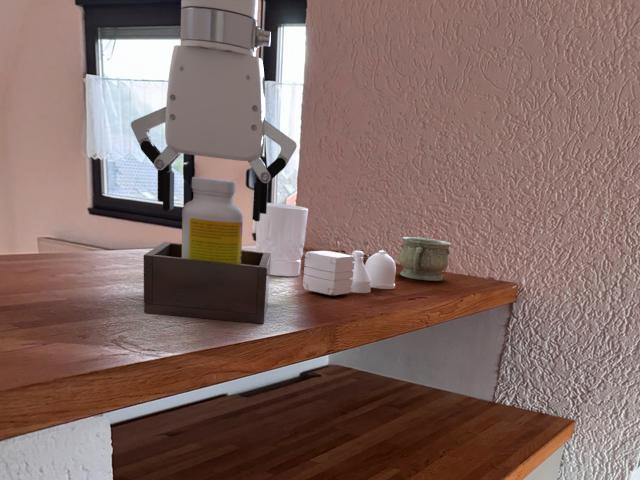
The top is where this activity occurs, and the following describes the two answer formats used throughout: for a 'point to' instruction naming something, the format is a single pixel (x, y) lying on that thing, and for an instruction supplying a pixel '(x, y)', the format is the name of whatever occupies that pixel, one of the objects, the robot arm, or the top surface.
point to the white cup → (282, 237)
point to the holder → (206, 285)
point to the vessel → (424, 258)
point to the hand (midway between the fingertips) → (212, 215)
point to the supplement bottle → (212, 222)
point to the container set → (347, 272)
